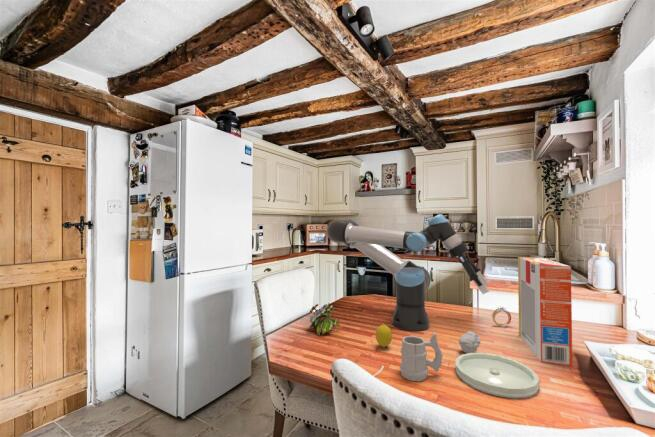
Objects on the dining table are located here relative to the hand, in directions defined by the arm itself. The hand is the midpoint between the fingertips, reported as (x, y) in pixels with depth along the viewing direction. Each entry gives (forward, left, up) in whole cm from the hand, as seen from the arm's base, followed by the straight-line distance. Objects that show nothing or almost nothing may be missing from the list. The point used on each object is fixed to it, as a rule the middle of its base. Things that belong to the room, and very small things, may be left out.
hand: (486, 289), depth 124 cm
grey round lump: (-7, -32, -15) cm, 36 cm away
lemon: (-34, -39, -15) cm, 54 cm away
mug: (-20, -53, -15) cm, 59 cm away
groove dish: (-1, -46, -15) cm, 48 cm away
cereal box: (+16, -18, -16) cm, 28 cm away
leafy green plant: (-60, -32, -16) cm, 70 cm away
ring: (+6, +1, -15) cm, 16 cm away
